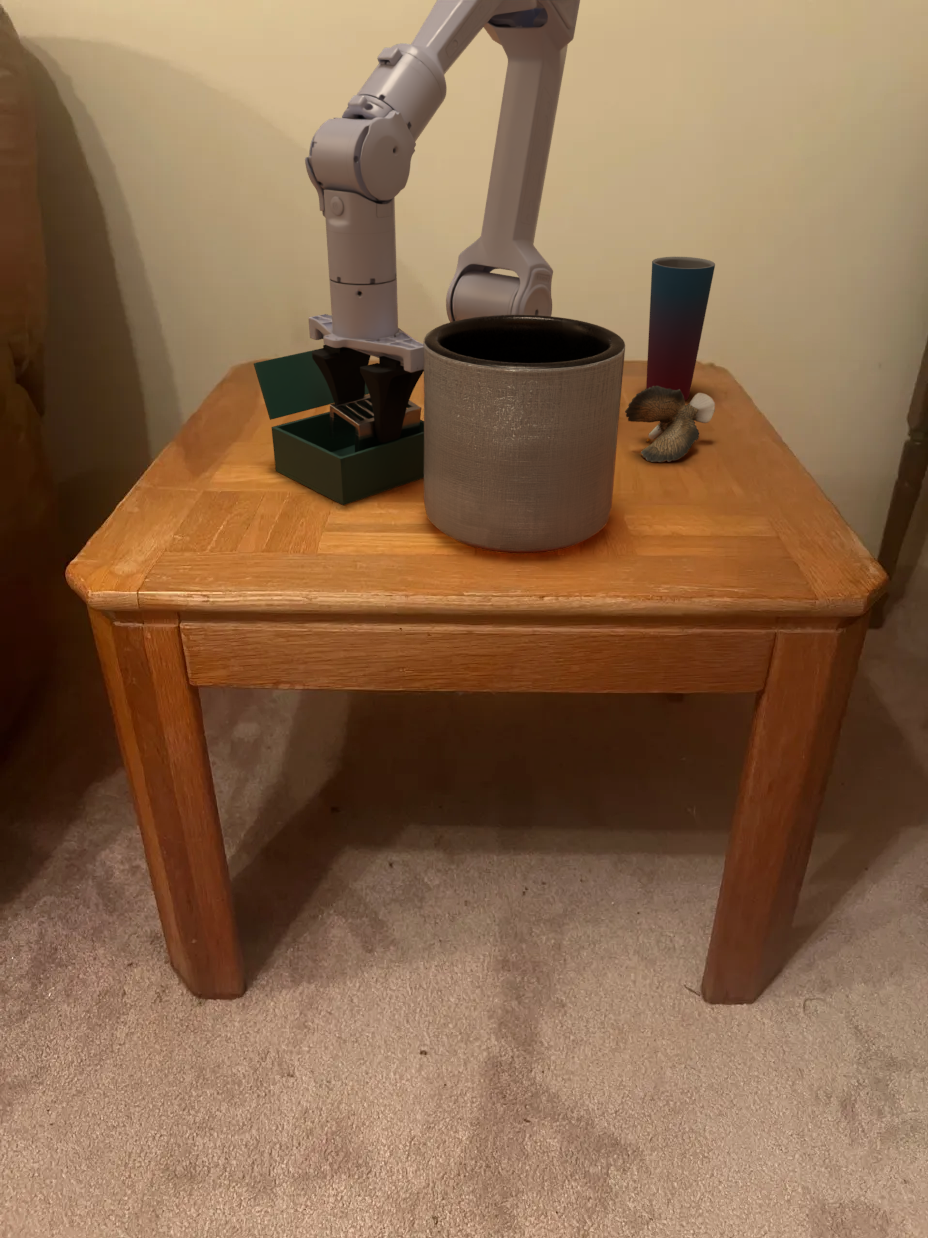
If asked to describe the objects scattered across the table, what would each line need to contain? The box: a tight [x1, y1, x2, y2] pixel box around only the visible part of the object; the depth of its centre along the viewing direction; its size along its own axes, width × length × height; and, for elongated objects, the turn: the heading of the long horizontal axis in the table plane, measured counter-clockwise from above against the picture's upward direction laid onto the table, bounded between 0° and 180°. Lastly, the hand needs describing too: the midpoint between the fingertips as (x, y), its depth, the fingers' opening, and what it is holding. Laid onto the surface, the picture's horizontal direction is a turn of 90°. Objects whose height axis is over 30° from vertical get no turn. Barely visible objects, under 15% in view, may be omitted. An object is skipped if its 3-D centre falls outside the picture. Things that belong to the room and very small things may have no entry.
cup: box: [645, 256, 716, 401], centre depth 108 cm, size 7×7×15 cm
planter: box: [422, 315, 626, 555], centre depth 78 cm, size 16×16×16 cm
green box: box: [271, 411, 424, 506], centre depth 90 cm, size 11×12×4 cm
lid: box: [253, 348, 369, 421], centre depth 91 cm, size 5×12×1 cm
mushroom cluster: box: [624, 386, 716, 463], centre depth 96 cm, size 8×7×9 cm
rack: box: [329, 394, 422, 452], centre depth 87 cm, size 7×5×3 cm, turn 131°
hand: (370, 431), depth 87 cm, fingers closed on rack, 5 cm apart
